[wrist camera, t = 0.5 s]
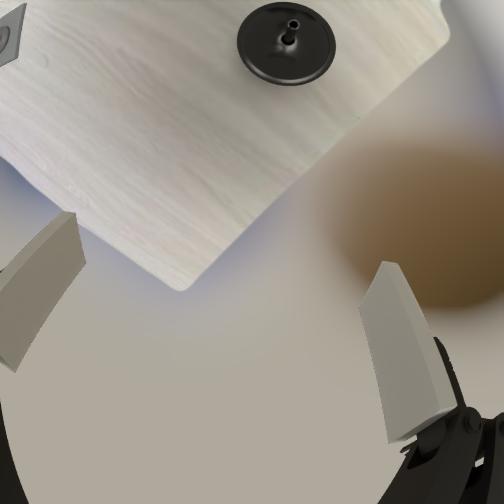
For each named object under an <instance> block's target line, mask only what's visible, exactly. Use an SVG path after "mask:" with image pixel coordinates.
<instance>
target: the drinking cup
mask: <svg viewBox="0 0 504 504" xmlns="http://www.w3.org/2000/svg"><path fill="white" fill-rule="evenodd" d="M237 48H238V52H239V55H240V57H241V59H242V61H243V63H244V64H245V65H246V67H247V68H248V69H249V70H250V71H251V72H252V73H253V74H255V75H256V76H257V77H259V78H261V79H263V80H265V81H267V82H269V83H272V84H276V85H282V86H297V85H303V84H306V83H309V82H312V81H314V80H316V79H317V78H319V77H320V76H321V75H323V74H324V73H325V72H326V71H327V70H328V68H329V67H330V65H331V64H332V62H333V59H334V56H335V52H336V42H335V37H334V34H333V31H332V29H331V27H330V26H329V24H328V23H327V22H326V20H325V19H324V18H323V17H322V16H321V15H319V14H318V13H317V12H315V11H314V10H312V9H310V8H308V7H306V6H303V5H300V4H297V3H291V2H276V3H270V4H267V5H264V6H262V7H260V8H258V9H256V10H254V11H253V12H252V13H250V14H249V15H248V16H247V17H246V18H245V20H244V21H243V23H242V24H241V26H240V29H239V31H238V35H237Z"/></svg>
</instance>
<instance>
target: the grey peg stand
mask: <svg viewBox="0 0 504 504" xmlns="http://www.w3.org/2000/svg"><path fill="white" fill-rule="evenodd" d="M26 4H27V3H24V4H22V5H20V6H19V7H17V8H15V9H14V10H12V11H11V12H9V13H8V14H6V15H5V16H3V17H2V18H1V19H0V67H1V66H3V65H4V64H6V63H8V62H10V61H12V60H14V59H16V58H18V51H19V43H20V35H21V29H22V23H23V18H24V13H25V8H26Z"/></svg>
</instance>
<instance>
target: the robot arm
mask: <svg viewBox="0 0 504 504" xmlns="http://www.w3.org/2000/svg"><path fill="white" fill-rule="evenodd" d="M85 264H86V260H85V256H84V252H83V248H82V243H81V239H80V234H79V229H78V224H77V219H76V213H73V212H66V211H63V212H62V213H61V214H59V215H58V216H57V217H56V218H55V219H54V220H53V221H52V222H50V224H48V225H47V226H46V227H45V228H44V229H43V230H42V231H41V232H40V233H38V234H37V235H36V236H35V238H33V239H32V240H31V241H30V242H29V243H28V244H27V245H26V246H25V247H24V248H23V249H22V250H21V251H20V252H19V253H18V254H17V255H16V256H15V258H14V259H13V260H12V261H11V262H10V263H9V264H8V265H7V266H6V267H5V268H4V269H3V270H1V271H0V362H1V363H2V364H3V365H4V366H5V367H7V368H8V369H10V370H11V371H13V372H14V373H15V372H16V370H17V368H18V366H19V365H20V363H21V361H22V359H23V357H24V356H25V354H26V352H27V350H28V348H29V347H30V345H31V343H32V342H33V340H34V338H35V337H36V335H37V333H38V332H39V330H40V328H41V327H42V325H43V324H44V322H45V321H46V319H47V317H48V316H49V314H50V313H51V311H52V310H53V308H54V307H55V305H56V304H57V302H58V301H59V299H60V298H61V297H62V295H63V294H64V292H65V291H66V289H67V288H68V287H69V285H70V284H71V283H72V281H73V280H74V279H75V277H76V276H77V275H78V273H79V272H80V271H81V269H82V268H83V266H84V265H85ZM359 311H360V315H361V318H362V322H363V326H364V329H365V333H366V337H367V341H368V345H369V349H370V353H371V357H372V361H373V365H374V369H375V374H376V378H377V383H378V387H379V392H380V397H381V402H382V407H383V413H384V418H385V424H386V430H387V437H388V443H389V444H390V443H395V442H400V441H405V440H407V439H409V438H411V437H412V436H414V435H417V440H416V441H414V442H413V443H411V444H409V445H407V446H405V447H403V448H402V450H401V451H400V453H403V452H405V451H407V450H409V449H410V450H409V452H407V453H406V454H405V456H406V458H405V460H404V461H403V463H402V465H401V467H400V469H399V471H398V472H397V474H396V476H395V477H394V479H393V480H392V482H391V484H390V485H389V487H388V489H387V490H386V492H385V493H384V495H383V496H382V498H381V499H380V501H379V502H378V504H504V412H503V413H500V414H499V415H498V416H496V417H495V418H494V419H486V418H481V416H480V414H479V412H478V411H477V410H476V409H474V408H472V407H466V404H465V402H464V399H463V395H462V392H461V389H460V387H459V383H458V380H457V378H456V375H455V372H454V371H453V367H452V364H451V362H450V361H449V357H448V354H447V352H446V349H445V347H444V346H443V344H442V343H441V342H440V341H439V339H438V338H437V337H433V336H432V333H431V331H430V329H429V327H428V325H427V322H426V320H425V318H424V316H423V313H422V311H421V309H420V307H419V305H418V303H417V301H416V299H415V297H414V294H413V292H412V290H411V288H410V286H409V285H408V283H407V281H406V279H405V277H404V275H403V273H402V271H401V269H400V267H399V266H398V264H397V263H392V262H386V261H382V263H381V266H380V268H379V270H378V272H377V274H376V276H375V278H374V279H373V282H372V283H371V285H370V287H369V289H368V291H367V293H366V295H365V297H364V299H363V300H362V303H361V304H360V306H359ZM483 457H484V462H483V464H482V465H480V466H478V467H475V461H477V460H479V459H481V458H483ZM0 504H29V503H28V500H27V498H26V496H25V493H24V490H23V488H22V485H21V483H20V480H19V477H18V475H17V471H16V468H15V465H14V462H13V458H12V455H11V451H10V447H9V443H8V439H7V435H6V430H5V426H4V421H3V416H2V410H1V403H0Z"/></svg>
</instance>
